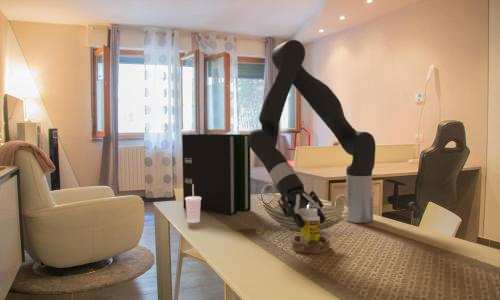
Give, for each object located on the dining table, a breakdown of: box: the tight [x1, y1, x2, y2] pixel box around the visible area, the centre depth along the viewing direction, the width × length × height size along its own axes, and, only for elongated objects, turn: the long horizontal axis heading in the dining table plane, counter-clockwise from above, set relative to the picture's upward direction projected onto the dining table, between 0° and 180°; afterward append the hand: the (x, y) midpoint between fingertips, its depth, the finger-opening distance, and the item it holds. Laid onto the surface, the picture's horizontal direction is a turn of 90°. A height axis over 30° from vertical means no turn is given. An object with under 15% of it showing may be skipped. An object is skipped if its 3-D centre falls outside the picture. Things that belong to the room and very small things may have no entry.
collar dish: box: [291, 233, 330, 255], centre depth 114 cm, size 11×11×3 cm
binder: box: [181, 133, 252, 217], centre depth 167 cm, size 27×15×32 cm, turn 51°
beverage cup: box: [185, 184, 201, 224], centre depth 146 cm, size 6×6×14 cm
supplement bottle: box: [300, 207, 321, 244], centre depth 114 cm, size 6×6×10 cm
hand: (313, 224), depth 112 cm, fingers open, 8 cm apart
